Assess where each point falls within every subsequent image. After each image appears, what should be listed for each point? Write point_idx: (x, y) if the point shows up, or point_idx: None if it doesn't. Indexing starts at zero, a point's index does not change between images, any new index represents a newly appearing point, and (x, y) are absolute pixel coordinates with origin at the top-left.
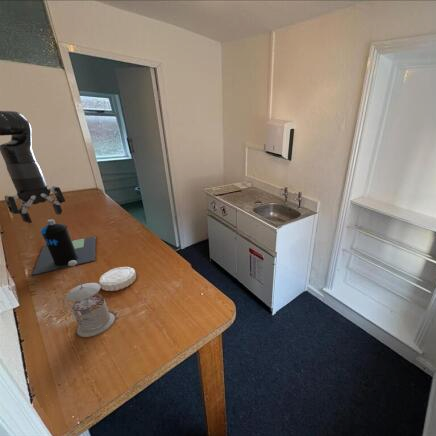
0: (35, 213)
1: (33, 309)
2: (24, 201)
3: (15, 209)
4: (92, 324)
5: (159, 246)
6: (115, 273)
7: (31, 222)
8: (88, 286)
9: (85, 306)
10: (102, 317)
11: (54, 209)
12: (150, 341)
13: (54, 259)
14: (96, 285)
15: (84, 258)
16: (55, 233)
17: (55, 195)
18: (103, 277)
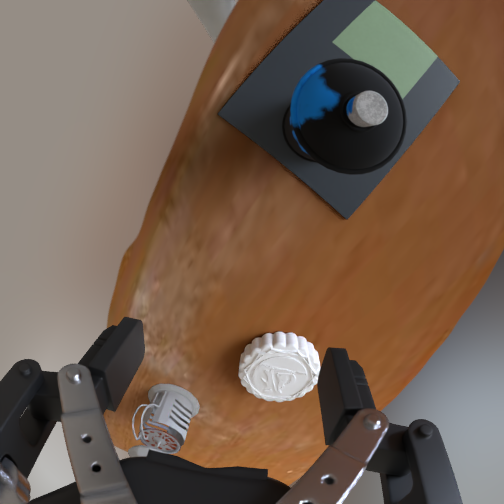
0: None
1: (137, 275)
2: (90, 461)
3: (36, 430)
4: (157, 424)
5: (445, 329)
6: (282, 371)
7: (142, 350)
8: None
9: (152, 441)
10: (171, 431)
11: (334, 374)
12: (189, 459)
13: (285, 124)
14: None
15: (345, 177)
16: (323, 162)
17: (418, 483)
18: (258, 359)
